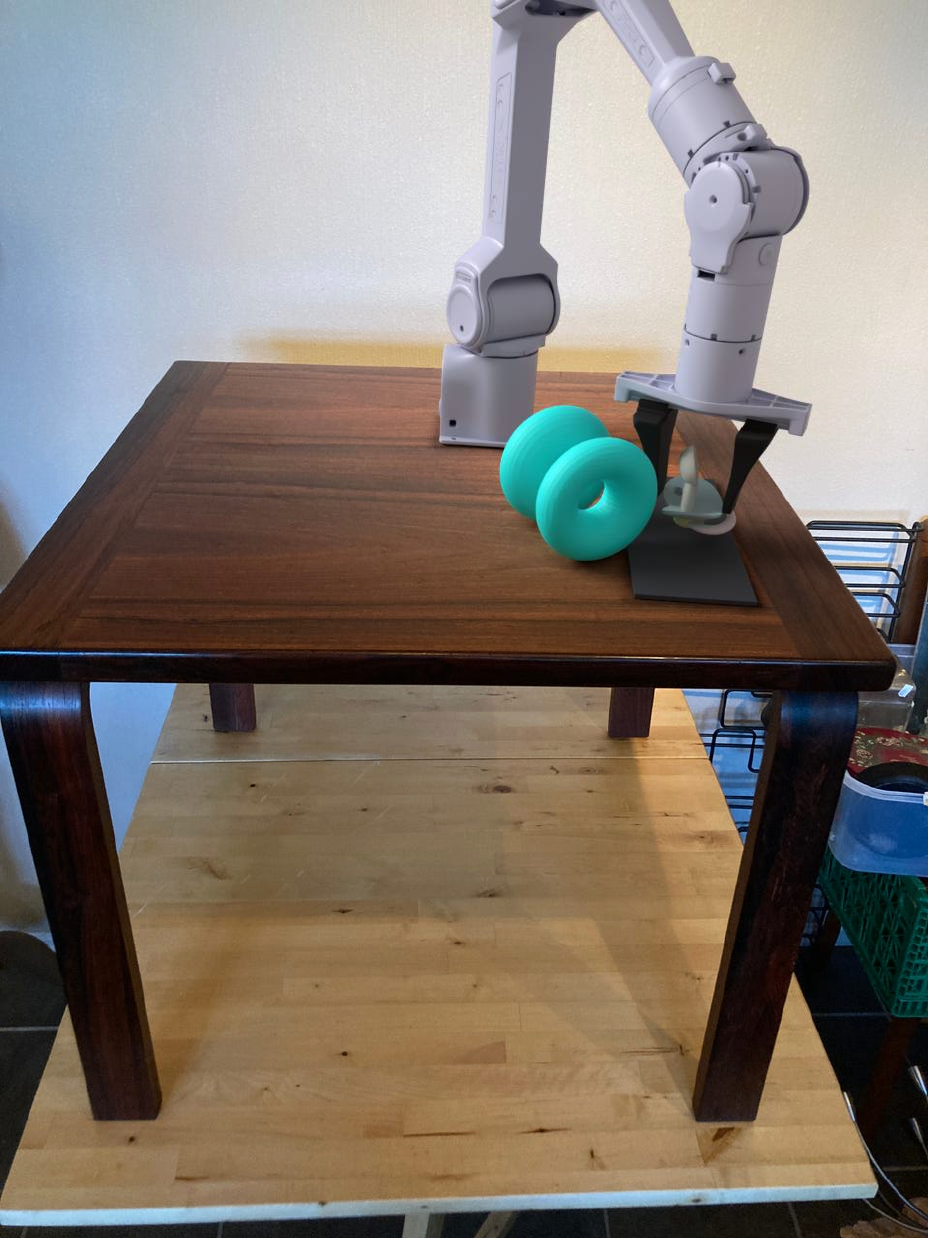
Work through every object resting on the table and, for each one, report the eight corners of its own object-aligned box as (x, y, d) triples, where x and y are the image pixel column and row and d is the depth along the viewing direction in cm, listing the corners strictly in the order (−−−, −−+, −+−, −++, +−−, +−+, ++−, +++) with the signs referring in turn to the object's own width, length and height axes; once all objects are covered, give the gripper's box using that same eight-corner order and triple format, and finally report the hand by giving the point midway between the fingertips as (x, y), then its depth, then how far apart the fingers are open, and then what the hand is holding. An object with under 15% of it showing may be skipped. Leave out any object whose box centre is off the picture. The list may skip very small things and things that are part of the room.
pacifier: (733, 507, 81) (661, 497, 82) (749, 437, 78) (674, 427, 79) (735, 547, 75) (657, 535, 76) (753, 472, 72) (672, 461, 73)
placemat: (634, 598, 72) (634, 593, 72) (615, 477, 91) (616, 473, 90) (756, 606, 72) (757, 602, 71) (712, 483, 90) (713, 479, 90)
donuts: (596, 505, 85) (609, 394, 80) (654, 557, 77) (673, 439, 72) (491, 519, 82) (497, 406, 77) (540, 576, 74) (552, 453, 69)
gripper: (833, 333, 72) (792, 501, 79) (643, 304, 77) (621, 464, 84) (818, 359, 66) (776, 536, 73) (614, 325, 71) (594, 495, 79)
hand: (692, 500), depth 78 cm, fingers closed on pacifier, 5 cm apart
